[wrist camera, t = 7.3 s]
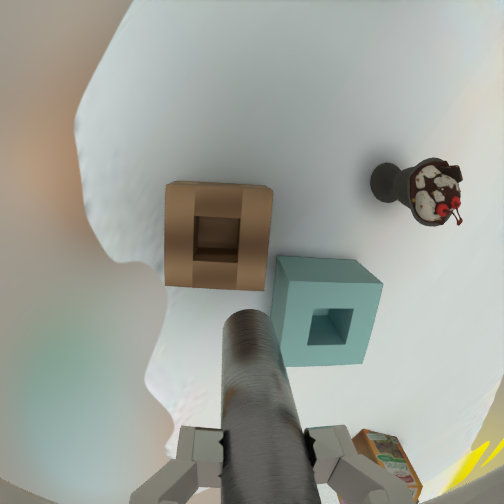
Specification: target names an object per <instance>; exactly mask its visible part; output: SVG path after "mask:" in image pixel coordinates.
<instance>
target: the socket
mask: <svg viewBox="0 0 504 504" xmlns="http://www.w3.org/2000/svg"><path fill="white" fill-rule="evenodd" d="M272 201H273V190H271V189H270V188H268V187H267V186H260V185H246V184H230V183H212V182H190V181H175V182H173V183H170V184H167V185H166V193H165V245H164V252H165V286H177V287H192V288H209V289H227V290H248V291H264V287H265V277H266V266H267V256H268V245H269V234H270V223H271V212H272Z"/></svg>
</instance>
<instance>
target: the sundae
mask: <svg viewBox="0 0 504 504" xmlns="http://www.w3.org/2000/svg"><path fill="white" fill-rule="evenodd" d="M462 180H463V178H462V174H461V171H460V168H459V166H458V165H454V166H449V164H448V162H447V161H443V160H441V159H439V158H429V159H426V160H423V161H422V162H420V163H419V164H417V165H416V166H415V167H411V168H407V169H404V170H402V171H401V170H400V169H399V168H398V167H397V166H396V165H394V164H391V163H384V164H381V165H379V166H378V167H377V168H376V169H375V170H374V172H373V174H372V176H371V188H372V192H373V193H374V195H375V196H376V198H377V199H379V200H380V201H382V202H386V203H390V202H393V201H396V200H398V201H400V202H401V203H402V204H404V205H405V206H406V207H408V208H410V209H411V211H412V214H413V216H414V218H415V219H416V220H417V221H418V222H419V223H421V224H423V225H425V226H439V225H443V224H444V223H445V222H446V221H447V220H448V219H449V217H450V216H451V214H453V215H454V216H455V214H454V213H453V210H454V209H456V210H457V213H458V208H459V206H460V204H461V202H460V192H461V191H460V189H459V184H458V183H459V182H461V181H462ZM458 215H459V213H458ZM455 218H456V220H457V225H458V226H459V225H460V224H461V223H462V218H461V217H460V215H459V218H460V220H459V221H458V219H457V217H456V216H455Z"/></svg>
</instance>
